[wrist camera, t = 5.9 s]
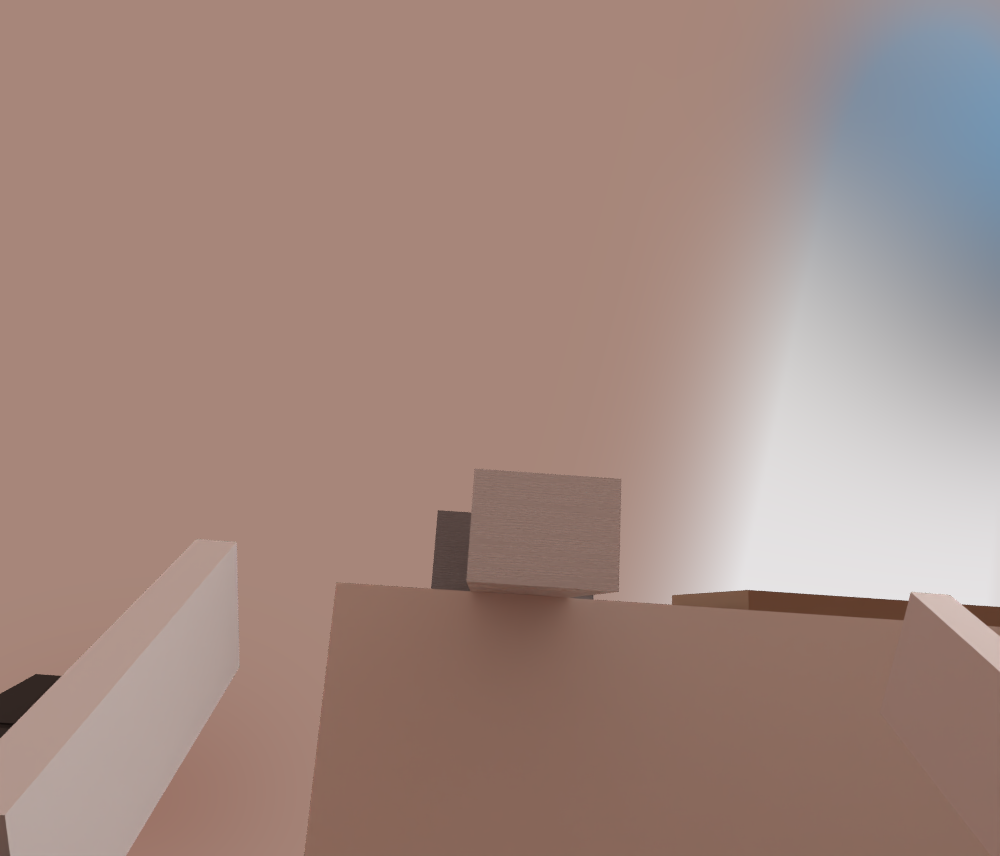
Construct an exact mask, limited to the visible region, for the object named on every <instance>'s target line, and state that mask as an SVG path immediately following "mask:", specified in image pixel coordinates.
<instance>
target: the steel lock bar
mask: <svg viewBox="0 0 1000 856" xmlns="http://www.w3.org/2000/svg"><path fill="white" fill-rule="evenodd" d="M620 507H621V479H613V478H599V477H583V476H570V475H556V474H555V475H554V474H539V473H527V472H511V471H497V470H483V469H475V473H474V485H473V499H472V512H471V513H468V512H453V511H438V517H437V528H436V540H435V551H434V563H433V576H432V586H431V589H443V590H458V591H473V592H488V593H503V594H517V595H532V596H547V597H562V598H577V599H592V600H593V595H595V594H604V593H611V592H618V591H619V555H620V554H619V552H620V511H621V508H620Z"/></svg>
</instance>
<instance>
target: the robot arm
mask: <svg viewBox="0 0 1000 856" xmlns="http://www.w3.org/2000/svg"><path fill="white" fill-rule="evenodd" d="M238 629H239V625H238V582H237V543H236V542H229V541H216V540H202V539H196V540H195V541H194V542H193V543H192V544H191V545H190V546H189V547H188V548H187V550H185V552H183V553H182V555H180V557H179V558H178V559H177V560H176V561H175V562H174V563H173V564H172V565H171V566H170V567H169V568H168V569H167V570H166V571H165V572H164V573H163V574H162V575H161V576H160V577H159V578H158V579H157V580H156V581H155V582H154V583H153V584H152V585H151V586H150V587H149V588H148V589H147V590H146V591H145V592H144V593H143V594H142V595H141V596H140V597H139V598H138V599H137V600H136V601H135V602H134V603H133V604H132V605H131V606H130V607H129V608H128V609H127V610H126V611H125V612H124V613H123V614H122V615H121V616H120V618H118V619H117V620H116V621H115V623H114V624H112V626H111V627H110V628H109V629H108V630H107V631H106V632H105V633H104V634H103V635H102V636H101V637H100V638H99V639H98V640H97V641H96V642H95V643H94V644H93V645H92V646H91V647H90V648H89V649H88V650H87V651H86V652H85V653H84V654H83V655H82V656H81V657H80V658H79V659H78V660H77V661H76V662H75V663H74V664H73V665H72V666H71V667H70V668H69V669H68V670H67V671H66V672H65V673H64V674H63V675H62V676H54V675H40V674H35V675H34V676H32V677H30V678H28V679H26V680H25V681H23V682H21V683H19V684H17V685H16V686H14V687H12V688H10V689H8V690H6V691H5V692H3V693H1V694H0V856H126V854H127V853H128V851H129V850H130V848H131V846H132V845H133V843H134V841H135V840H136V838H137V836H138V834H139V833H140V831H141V830H142V828H143V826H144V825H145V823H146V821H147V819H148V818H149V816H150V815H151V813H152V811H153V810H154V808H155V806H156V805H157V803H158V801H159V800H160V798H161V796H162V794H163V793H164V791H165V790H166V788H167V786H168V785H169V783H170V781H171V779H172V778H173V776H174V775H175V773H176V771H177V769H178V768H179V766H180V765H181V763H182V761H183V760H184V758H185V756H186V755H187V753H188V752H189V750H190V748H191V746H192V745H193V743H194V741H195V740H196V738H197V737H198V735H199V733H200V732H201V730H202V728H203V726H204V725H205V723H206V721H207V720H208V718H209V716H210V715H211V713H212V712H213V710H214V708H215V707H216V705H217V703H218V702H219V700H220V698H221V697H222V695H223V693H224V692H225V690H226V688H227V687H228V685H229V683H230V682H231V680H232V678H233V677H234V675H235V673H236V672H237V670H238V668H239V630H238ZM880 714H881V715H882V716H883V717H884V719H885V720H886V721H887V723H888V724H889V725H890V726H891V728H892V729H893V730H894V732H895V733H896V734H897V736H898V737H899V738H900V739H901V741H902V742H903V743H904V745H905V746H906V747H907V748H908V750H909V751H910V752H911V754H912V755H913V756H914V757H915V759H916V760H917V761H918V763H919V764H920V765H921V767H922V768H923V769H924V770H925V772H926V773H927V774H928V776H929V777H930V778H931V779H932V781H933V782H934V783H935V785H936V786H937V787H938V788H939V790H940V791H941V792H942V794H943V795H944V796H945V797H946V799H947V800H948V801H949V803H950V804H951V805H952V807H953V808H954V809H955V810H956V812H957V813H958V814H959V816H960V817H961V818H962V819H963V821H964V822H965V823H966V825H967V826H968V827H969V828H970V830H971V831H972V832H973V834H974V835H975V836H976V837H977V839H978V840H979V841H980V843H981V844H982V845H983V847H984V848H985V849H986V850H987V852H988V853H989V854H990V856H1000V636H999V635H998V634H996V633H995V632H994V631H993V630H992V629H990V628H989V627H988V626H987V625H985V624H984V623H983V622H982V621H981V620H979V619H978V618H977V617H976V616H975V615H973V614H972V613H971V612H970V611H969V610H967V609H966V608H965V607H964V606H962V605H961V604H960V603H959V602H958V601H956V600H955V599H954V598H953V597H952V596H950V595H943V594H929V593H916V592H911V594H910V598H909V602H908V605H907V609H906V613H905V617H904V621H903V625H902V629H901V632H900V636H899V640H898V644H897V648H896V652H895V655H894V659H893V663H892V667H891V671H890V675H889V679H888V682H887V686H886V690H885V694H884V698H883V702H882V706H881V709H880Z"/></svg>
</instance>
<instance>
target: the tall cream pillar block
mask: <svg viewBox="0 0 1000 856" xmlns="http://www.w3.org/2000/svg"><path fill="white" fill-rule="evenodd" d="M908 602H909V601H902V600H886V599H871V598H856V597H842V596H827V595H812V594H798V593H783V592H768V591H753V590H743V591H729V592H714V593H699V594H685V595H673V596H672V605H667V604H651V603H637V602H621V601H607V600H592V599H577V598H562V597H547V596H532V595H517V594H503V593H488V592H473V591H458V590H443V589H428V588H413V587H398V586H383V585H368V584H353V583H338V582H337V583H336V591H335V599H334V607H333V616H332V624H331V632H330V641H329V649H328V658H327V666H326V675H325V684H324V692H323V700H322V708H321V717H320V726H319V734H318V742H317V752H316V759H315V768H314V776H313V785H312V793H311V801H310V810H309V819H308V827H307V835H306V844H305V852H304V856H990V854H989V853H988V852H987V850H986V849H985V848H984V847H983V845H982V844H981V843H980V841H979V840H978V839H977V837H976V836H975V835H974V834H973V832H972V831H971V830H970V828H969V827H968V826H967V825H966V823H965V822H964V821H963V819H962V818H961V817H960V816H959V814H958V813H957V812H956V810H955V809H954V808H953V807H952V805H951V804H950V803H949V801H948V800H947V799H946V797H945V796H944V795H943V794H942V792H941V791H940V790H939V788H938V787H937V786H936V785H935V783H934V782H933V781H932V779H931V778H930V777H929V776H928V774H927V773H926V772H925V770H924V769H923V768H922V767H921V765H920V764H919V763H918V761H917V760H916V759H915V757H914V756H913V755H912V754H911V752H910V751H909V750H908V748H907V747H906V746H905V745H904V743H903V742H902V741H901V739H900V738H899V737H898V736H897V734H896V733H895V732H894V730H893V729H892V728H891V726H890V725H889V724H888V723H887V721H886V720H885V719H884V717H883V716H882V715H881V714H880V709H881V706H882V702H883V698H884V694H885V690H886V686H887V682H888V679H889V675H890V671H891V667H892V663H893V659H894V655H895V652H896V648H897V644H898V640H899V636H900V632H901V629H902V625H903V621H904V617H905V613H906V609H907V605H908ZM962 606H964V607H965V608H966V609H967V610H969V611H970V612H971V613H972V614H973V615H975V616H976V617H977V618H978V619H979V620H981V621H982V622H983V623H984V624H985V625H987V626H988V627H989V628H990V629H992V630H993V631H994V632H995V633H996V634H998V635H999V636H1000V607H990V606H976V605H962Z"/></svg>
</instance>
